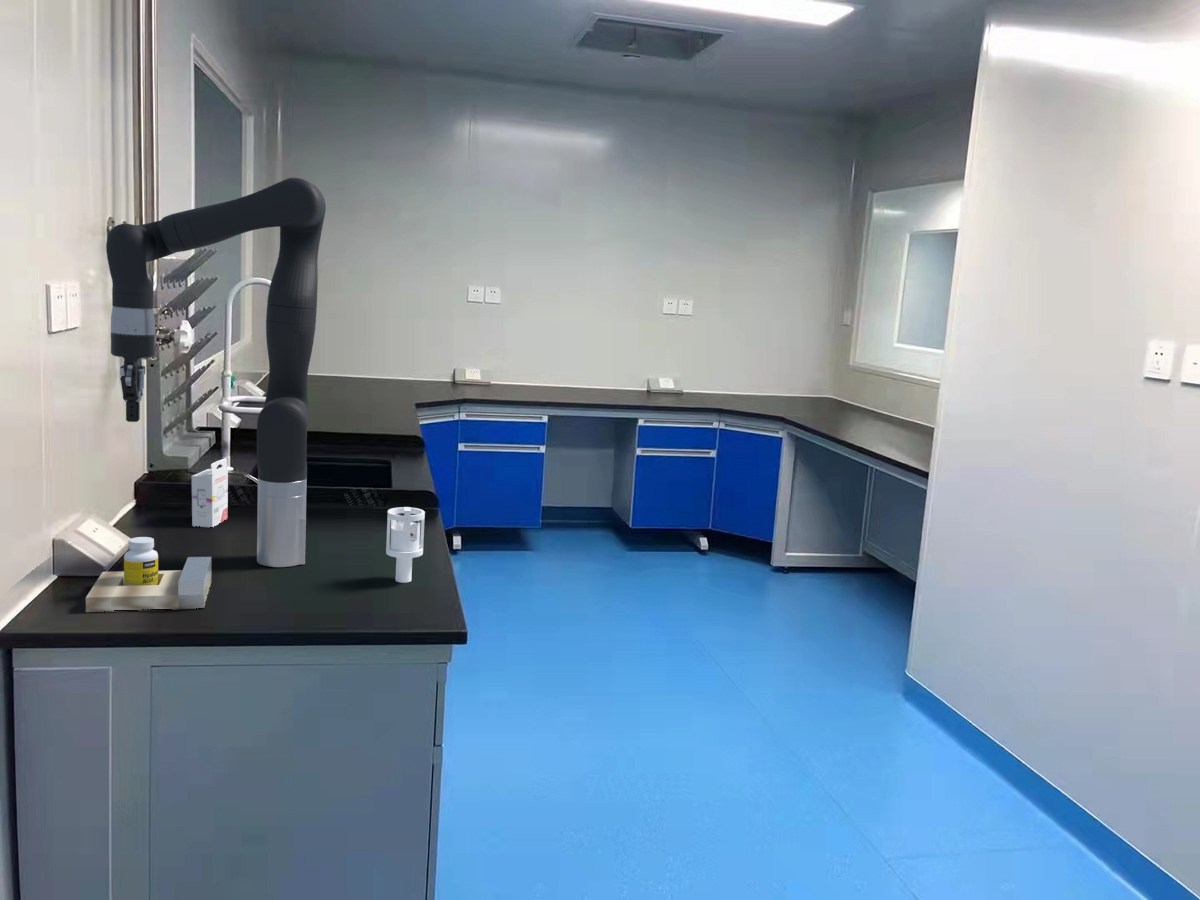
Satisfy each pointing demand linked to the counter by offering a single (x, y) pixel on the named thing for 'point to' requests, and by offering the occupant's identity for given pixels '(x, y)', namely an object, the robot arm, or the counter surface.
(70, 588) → the counter surface
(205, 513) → the ink cartridge box
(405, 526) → the strainer
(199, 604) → the jig
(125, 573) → the supplement bottle
